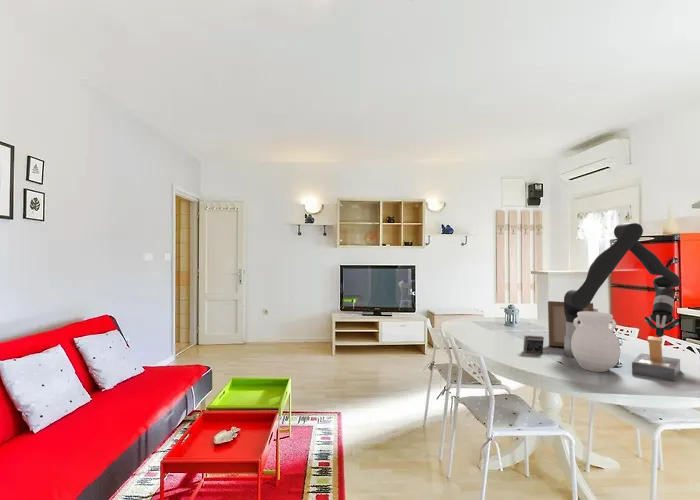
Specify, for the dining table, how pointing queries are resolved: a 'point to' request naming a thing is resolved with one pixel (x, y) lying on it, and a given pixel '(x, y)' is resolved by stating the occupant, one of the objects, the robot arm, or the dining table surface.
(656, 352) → the lever
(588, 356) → the white ceramic vase
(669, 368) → the box
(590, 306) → the photo frame
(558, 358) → the dining table surface
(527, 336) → the electrical switch
